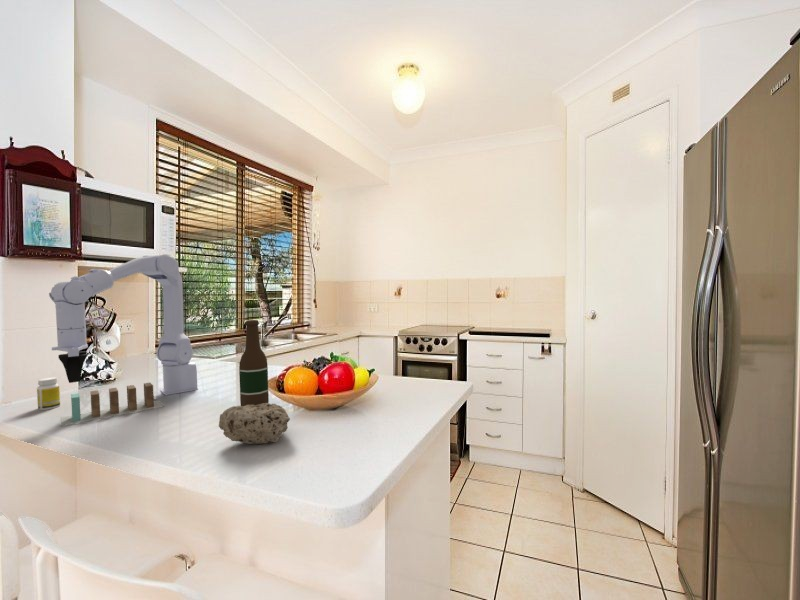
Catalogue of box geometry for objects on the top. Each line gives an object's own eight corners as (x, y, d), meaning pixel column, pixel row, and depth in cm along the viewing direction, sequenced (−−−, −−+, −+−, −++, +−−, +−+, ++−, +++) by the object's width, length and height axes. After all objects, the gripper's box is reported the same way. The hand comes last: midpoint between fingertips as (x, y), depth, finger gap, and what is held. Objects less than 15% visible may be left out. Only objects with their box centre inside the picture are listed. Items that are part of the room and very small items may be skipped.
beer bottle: (245, 413, 103) (242, 322, 102) (235, 407, 109) (232, 320, 108) (274, 407, 108) (271, 320, 107) (263, 401, 114) (260, 318, 113)
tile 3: (117, 409, 109) (116, 387, 109) (119, 413, 105) (118, 390, 105) (110, 410, 108) (108, 388, 108) (111, 414, 104) (110, 391, 104)
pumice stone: (218, 457, 76) (216, 417, 76) (220, 436, 87) (219, 401, 87) (292, 445, 81) (291, 407, 81) (285, 427, 92) (284, 393, 92)
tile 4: (99, 412, 106) (97, 390, 106) (100, 416, 103) (99, 393, 102) (91, 413, 105) (90, 391, 105) (92, 418, 101) (91, 394, 101)
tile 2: (134, 405, 111) (133, 384, 111) (137, 409, 108) (136, 388, 108) (127, 407, 110) (126, 386, 110) (129, 411, 107) (128, 389, 106)
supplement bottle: (64, 405, 114) (63, 376, 114) (48, 410, 109) (47, 380, 109) (49, 405, 115) (48, 376, 114) (33, 410, 110) (31, 380, 110)
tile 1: (151, 402, 114) (150, 382, 114) (154, 406, 110) (153, 385, 110) (144, 404, 113) (143, 383, 113) (147, 407, 109) (146, 386, 109)
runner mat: (158, 400, 117) (158, 400, 117) (164, 406, 110) (164, 406, 110) (60, 418, 102) (60, 417, 102) (61, 426, 96) (60, 425, 96)
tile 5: (80, 415, 104) (78, 393, 103) (80, 420, 100) (79, 396, 100) (72, 417, 102) (70, 394, 102) (72, 421, 99) (71, 398, 99)
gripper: (51, 327, 103) (53, 379, 104) (50, 332, 92) (53, 389, 93) (85, 325, 108) (88, 374, 108) (88, 329, 97) (91, 384, 97)
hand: (74, 381), depth 101 cm, fingers closed
